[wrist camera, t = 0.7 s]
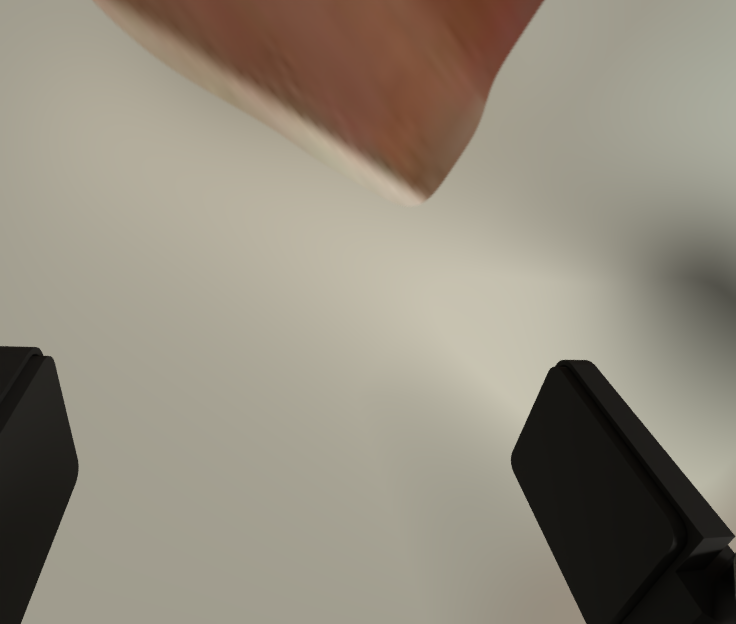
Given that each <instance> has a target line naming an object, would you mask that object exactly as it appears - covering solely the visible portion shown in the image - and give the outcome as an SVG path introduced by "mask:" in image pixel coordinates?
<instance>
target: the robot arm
mask: <svg viewBox="0 0 736 624" xmlns="http://www.w3.org/2000/svg"><path fill="white" fill-rule="evenodd" d="M511 465H512V469H513V472H514V474H515V476H516V478H517V480H518V482H519V484H520V486H521V488H522V491H523V492H524V495H525V497H526V499H527V501H528V503H529V505H530V507H531V509H532V511H533V513H534V516H535V518H536V520H537V522H538V524H539V526H540V528H541V530H542V532H543V534H544V536H545V538H546V540H547V543H548V545H549V547H550V549H551V551H552V553H553V555H554V557H555V559H556V561H557V563H558V565H559V568H560V570H561V571H562V574H563V576H564V578H565V580H566V582H567V584H568V586H569V588H570V591H571V593H572V595H573V597H574V599H575V601H576V603H577V605H578V607H579V609H580V611H581V613H582V616H583V617H584V620H585V622H586V623H587V624H736V553H734V552H733V551H732V549H730V547H729V546H728V544H729V543H730V542H731V540H732V539H733V538H734V537H735V535H734V534H733V533H732V532H731V531H730V529H729V528H728V527H727V526H726V524H725V523H724V522H723V521H722V520H721V518H720V517H719V516H718V515H717V513H716V512H715V511H714V510H713V509H712V508H711V506H710V505H709V504H708V502H707V501H706V500H705V499H704V498H703V496H702V495H701V494H700V493H699V492H698V490H697V489H696V488H695V487H694V486H693V484H692V483H691V482H690V481H689V479H688V478H687V477H686V476H685V474H684V473H683V472H682V471H681V470H680V468H679V467H678V466H677V465H676V464H675V462H674V461H673V460H672V459H671V457H670V456H669V455H668V454H667V452H666V451H665V450H664V449H663V448H662V446H661V445H660V444H659V443H658V442H657V440H656V439H655V438H654V437H653V435H651V433H650V432H649V431H648V429H647V428H646V427H645V426H644V425H643V423H642V422H641V421H640V420H639V419H638V417H637V416H636V415H635V414H634V413H633V411H632V410H631V409H630V407H629V406H628V405H627V404H626V402H625V401H624V400H623V399H622V398H621V396H620V395H619V394H618V393H617V392H616V390H615V389H614V388H613V387H612V386H611V384H610V383H609V382H608V381H607V379H606V378H605V377H604V376H603V375H602V373H601V372H600V371H599V370H598V368H597V367H596V366H595V365H594V364H593V363H592V362H590V361H587V360H561V361H559V362H558V363H557V365H556V366H555V367H552V368H551V369H550V370H549V372H548V374H547V376H546V378H545V380H544V383H543V385H542V387H541V389H540V392H539V394H538V396H537V399H536V401H535V403H534V405H533V407H532V409H531V412H530V414H529V416H528V418H527V421H526V423H525V425H524V427H523V430H522V432H521V434H520V436H519V438H518V441H517V443H516V445H515V447H514V450H513V452H512V455H511ZM77 476H78V459H77V454H76V450H75V446H74V442H73V438H72V433H71V429H70V425H69V421H68V417H67V413H66V408H65V404H64V400H63V396H62V391H61V387H60V383H59V379H58V375H57V370H56V366H55V362H54V360H53V358H52V357H51V356H43V354H42V352H41V350H40V349H39V348H37V347H8V346H5V347H4V346H0V624H21V621H22V619H23V616H24V614H25V611H26V609H27V606H28V604H29V601H30V599H31V596H32V593H33V591H34V588H35V586H36V583H37V581H38V578H39V576H40V573H41V570H42V568H43V565H44V563H45V560H46V558H47V555H48V553H49V550H50V548H51V545H52V542H53V540H54V537H55V535H56V532H57V530H58V527H59V525H60V522H61V519H62V517H63V514H64V512H65V509H66V507H67V504H68V502H69V499H70V496H71V494H72V491H73V489H74V486H75V483H76V480H77Z"/></svg>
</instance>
